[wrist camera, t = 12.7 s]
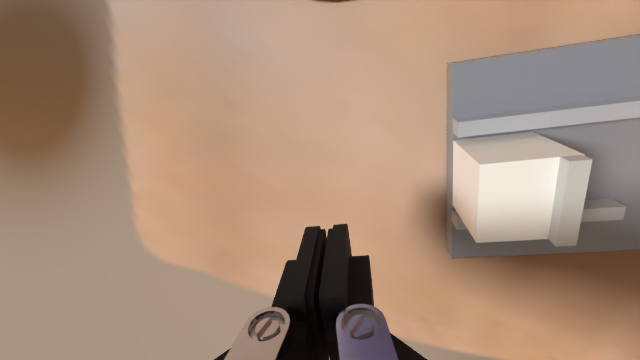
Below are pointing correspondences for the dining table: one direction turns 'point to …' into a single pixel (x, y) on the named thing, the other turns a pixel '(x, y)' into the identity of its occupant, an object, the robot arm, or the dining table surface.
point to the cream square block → (519, 188)
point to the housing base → (557, 132)
